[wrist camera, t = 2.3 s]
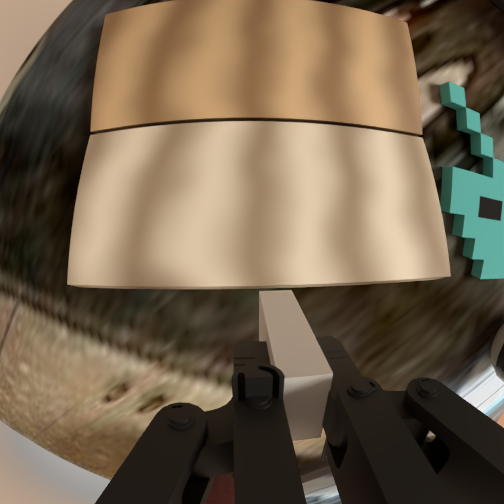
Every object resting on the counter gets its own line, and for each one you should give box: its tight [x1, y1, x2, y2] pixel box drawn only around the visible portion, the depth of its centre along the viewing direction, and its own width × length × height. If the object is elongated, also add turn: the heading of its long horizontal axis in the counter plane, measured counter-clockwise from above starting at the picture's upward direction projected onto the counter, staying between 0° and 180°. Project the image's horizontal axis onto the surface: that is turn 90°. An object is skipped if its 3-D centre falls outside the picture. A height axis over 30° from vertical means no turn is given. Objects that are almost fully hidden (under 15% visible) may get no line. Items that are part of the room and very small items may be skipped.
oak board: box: [90, 0, 422, 136], centre depth 20 cm, size 28×12×2 cm, turn 90°
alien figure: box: [439, 82, 504, 279], centre depth 24 cm, size 20×2×20 cm
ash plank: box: [67, 121, 450, 289], centre depth 20 cm, size 28×12×2 cm, turn 90°
